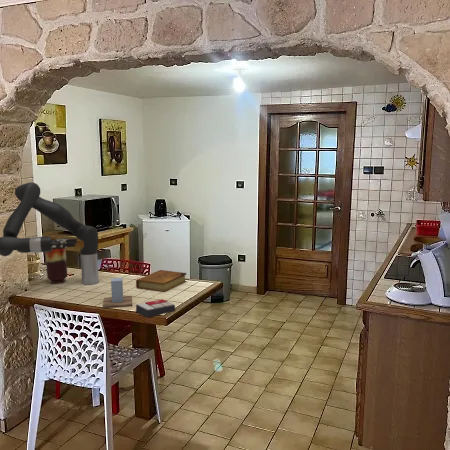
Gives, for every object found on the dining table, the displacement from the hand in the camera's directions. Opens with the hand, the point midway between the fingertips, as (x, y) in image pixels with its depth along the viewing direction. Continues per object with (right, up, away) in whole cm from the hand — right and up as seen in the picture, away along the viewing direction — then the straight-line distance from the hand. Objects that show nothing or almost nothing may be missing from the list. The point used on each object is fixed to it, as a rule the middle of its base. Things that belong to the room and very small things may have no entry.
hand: (76, 242), depth 227 cm
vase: (-25, -25, +44) cm, 57 cm away
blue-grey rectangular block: (+20, -29, +4) cm, 35 cm away
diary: (+37, -26, +35) cm, 58 cm away
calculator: (+40, -33, -8) cm, 53 cm away
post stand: (+19, -30, +4) cm, 36 cm away
